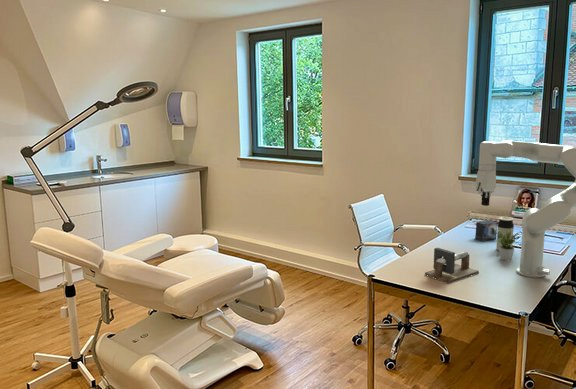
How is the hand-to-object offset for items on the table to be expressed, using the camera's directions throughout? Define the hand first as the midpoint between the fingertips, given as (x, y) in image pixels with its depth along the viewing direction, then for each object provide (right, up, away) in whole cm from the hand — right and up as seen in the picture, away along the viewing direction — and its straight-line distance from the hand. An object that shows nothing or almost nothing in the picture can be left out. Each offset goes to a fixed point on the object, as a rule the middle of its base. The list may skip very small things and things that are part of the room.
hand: (485, 205), depth 235 cm
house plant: (+19, -29, +18) cm, 39 cm away
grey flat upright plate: (-21, -31, -4) cm, 38 cm away
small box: (+23, -22, +56) cm, 64 cm away
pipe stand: (-16, -33, 0) cm, 37 cm away
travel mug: (+25, -26, +35) cm, 50 cm away
